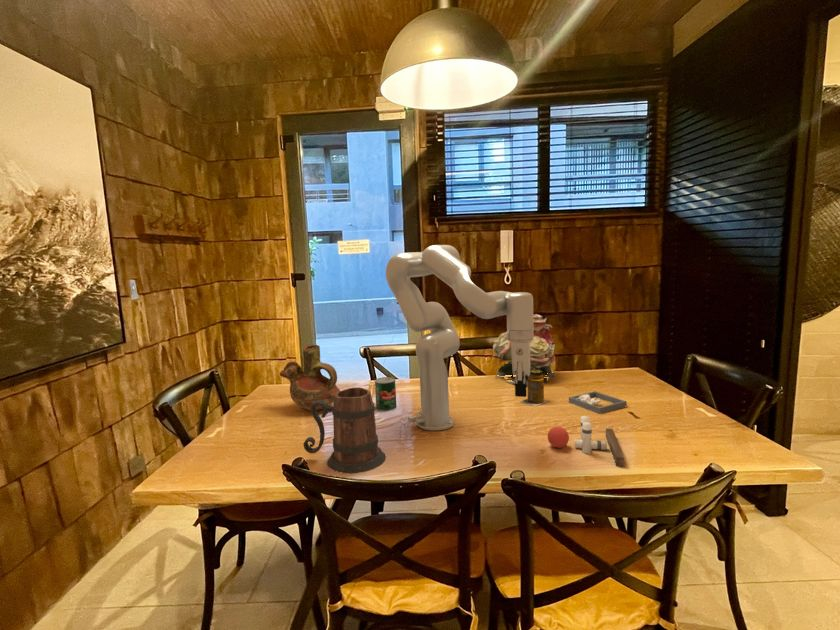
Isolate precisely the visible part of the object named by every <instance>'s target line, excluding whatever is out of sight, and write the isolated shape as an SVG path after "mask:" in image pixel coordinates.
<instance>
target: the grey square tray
mask: <svg viewBox="0 0 840 630" xmlns="http://www.w3.org/2000/svg"><path fill="white" fill-rule="evenodd" d="M586 394H587V395H589V396H590V398H591V399H592V398H596V397H597V398H596V399H599V398H600V399H599V400H602V399H603V401H605V400H607V401H606V402H608V401H610V402H609V403H611V402H612V403H611V404H607V405H602V406H597V405H595V404H594V405H592V404H589V403H587V402H586V401H585V402H583V401H580V400H578V399H577V398H579V397H580V396H581V395H586ZM627 402H628V401H626V400H624V399H621V398H618V397H614V396H611V395H607V394H604V393H601V392H599V391H596V390H595V391H590V392H586V393H582V394H577V395H572V396H568V403H570V404H572V405H575V406H576V407H577V406H578V407H580V408H583V409H585V410H588V411H591V412H593V413H596V414H599V415H601V414H604V412H605V413H607V411H609V412H611V410H612V411H615V409H616V410H619V409H618V408H620V409H623V408H622V407H624V408H626V407H625V406H627V407H628V405H627V404H628V403H627ZM600 413H601V414H600Z"/></svg>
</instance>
